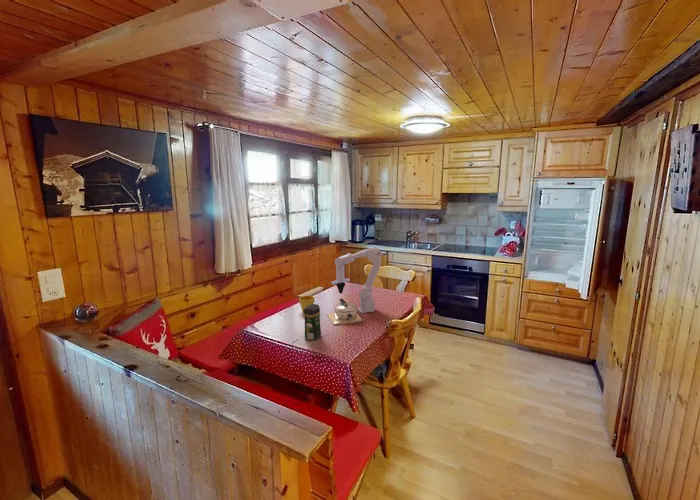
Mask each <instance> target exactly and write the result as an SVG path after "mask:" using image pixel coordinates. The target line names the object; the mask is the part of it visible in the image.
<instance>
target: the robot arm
mask: <svg viewBox="0 0 700 500" xmlns="http://www.w3.org/2000/svg"><path fill="white" fill-rule="evenodd" d="M381 254H382V252H381V251H380V249H379V248H378V247H376V246H375V247H371V248H370V247H369V248H367V249H363V250H360V251H358V252H356V253H351V252H350V253H349V252H348V253H346V254H345V255H340V256H338V257H337V258H335V259H334V264H335V275H336V276H335V279H336V280H333V281H331V282H330V284H331V285H332V286H334V285H335V286H336V287H337V290H338V293H339V294H343V291H344V289H345V286H346V283H347V282H350V281H351V279H350V278H345V277H346V276H345V265H346V264H347V265H348V264H349V263H352V262H354V260H355V259H359V258H361V257H365V258H367V259H368V260H369V261H370V262H371V263H372V266H371V269H369V273H368V274H367V275H368V276H367V278H366V280H365V283H364V285H363V287H362V289H360V291H359V292H358V297H359V308H358V311H359V312H360V313H361V314H365V313H374V312H376V310H375V305H376V304H375V303H376V302H375V299H374V297H373V296H371V295H372V293H373V291H372V290H373V285H374V282H375V280H376V278H377V276H378V274H379V273H378V272H379V270H380V268H381V266H382V258H381Z"/></svg>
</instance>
